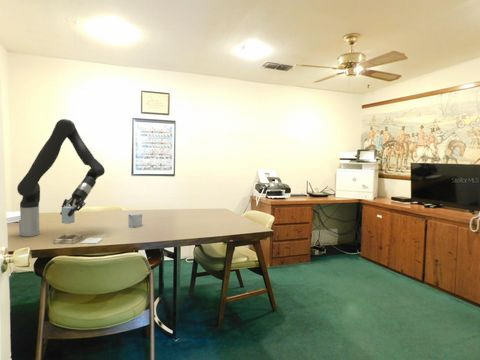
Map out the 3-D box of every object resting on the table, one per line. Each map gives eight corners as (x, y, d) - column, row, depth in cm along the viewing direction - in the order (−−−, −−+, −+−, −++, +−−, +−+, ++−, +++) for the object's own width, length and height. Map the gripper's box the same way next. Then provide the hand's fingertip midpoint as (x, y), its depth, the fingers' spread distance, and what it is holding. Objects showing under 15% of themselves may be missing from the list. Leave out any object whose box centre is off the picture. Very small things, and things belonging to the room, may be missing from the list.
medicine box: (138, 225, 215) (138, 213, 214) (142, 226, 212) (142, 213, 211) (128, 226, 209) (128, 214, 208) (131, 228, 206) (131, 215, 205)
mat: (79, 243, 168) (79, 242, 168) (87, 238, 178) (87, 237, 178) (96, 243, 169) (96, 242, 169) (103, 238, 179) (103, 238, 179)
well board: (53, 243, 167) (53, 239, 167) (64, 237, 178) (63, 234, 178) (73, 243, 168) (73, 239, 168) (83, 238, 179) (83, 234, 179)
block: (61, 223, 171) (61, 207, 170) (68, 221, 175) (68, 206, 174) (68, 224, 169) (67, 208, 169) (74, 222, 174) (74, 206, 173)
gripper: (68, 187, 180) (51, 210, 169) (88, 188, 176) (71, 212, 165) (76, 194, 185) (59, 218, 175) (95, 196, 181) (79, 220, 171)
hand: (65, 215), depth 170 cm, fingers closed on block, 4 cm apart
